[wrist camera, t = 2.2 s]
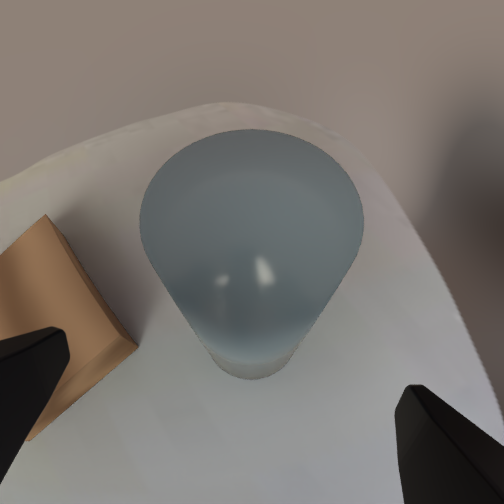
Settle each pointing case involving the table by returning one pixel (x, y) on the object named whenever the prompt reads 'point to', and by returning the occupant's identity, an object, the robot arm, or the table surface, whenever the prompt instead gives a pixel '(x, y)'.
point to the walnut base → (59, 312)
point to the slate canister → (251, 242)
